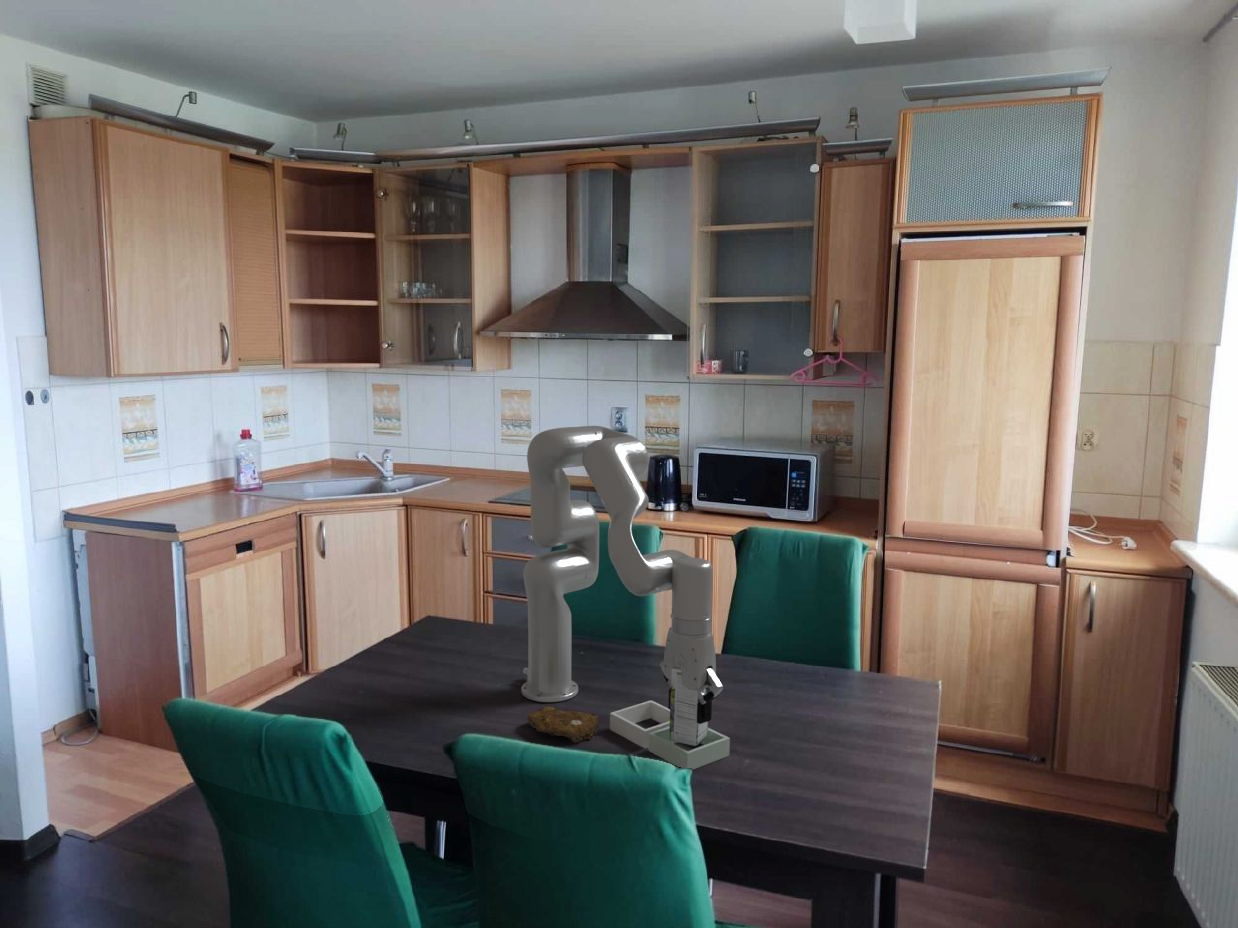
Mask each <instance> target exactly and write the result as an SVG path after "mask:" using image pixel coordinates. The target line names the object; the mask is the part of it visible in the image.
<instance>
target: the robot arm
mask: <svg viewBox="0 0 1238 928" xmlns="http://www.w3.org/2000/svg"><path fill="white" fill-rule="evenodd" d="M649 457H650V456H649V453H648V450H647V448H646V445H644V444H643V442H642V441H641V440H640V439H638V438H637V437H635V436H633V435H630V434H627V433H624V432H621V431H617V430H614V429H611V428H608V427H604V426H601V425H586V426H585V425H582V426H568V427H566V426H565V427H557V428H552V429H551V428H550V429H547V430H544V431H543V430H542V431H541V432H539V433H537V434H536V435H535V436H534V437H533V438H532V439H531V441H530V442H529V445H528V448H527V453H526V460H527V461H526V462H527V468H528V474H529V477H530V478H529V479H530V534H531V538H532V541H533V542H534V543H535V545H536V546H538V547H540V548H546V549H547V548H555V547H562V546H567V547H566V548H564V549H560V550H559V549H558V550H553V551H548V552H544V553H540V554H538V555H537V554H536V555H535V556H533V557H531V558H529V560H528V561H527V563H526V564H525V566H524V568H523V573H522V574H523V575H522V576H523V582H524V589H525V593H526V601H527V625H528V630H527V631H528V632H527V633H528V637H527V638H528V641H527V643H528V644H527V646H528V648H527V649H528V653H527V655H528V656H527V657H528V658H527V659H528V662H527V663H528V666H527V667H524V668H523V670H522V672H523V674H525V675H527V678H526V682H524V683H523V684H522V686H521V687H520V688H521V694H522V696H523V697H525V698H526V699H528V700H531V701H533V702H534V701H535V702H539V703H558V702H563V701H568V700H569V699H572V698H574V697H575V696H576V695H577V694H578V693H579V685H578V683H576V682H575V681H574V680H572V612H571V609H570V607H569V605H568V603H567V602H566V600H565V598H564V595H565V594H569V593H572V592H576V591H580V590H583V589H586V588H587V589H588V588H589V587H592V585H594V583H595V582H596V580H597V579H598V578H597V577H598V575H599V569H600V568H599V564H600V521H599V517H598V514H597V512H596V509H595V508H594V506H593V505H592V504H591V503H590V502H589V501H586V500H584V499H573V500H572V499H571V483H570V480H569V478H568V475H567V473H565V470H563V469H567V468H577V467H584V469H585V472H586V473H587V475H588V477H589V479H590V482H591V483H592V485H593V487H594V489H595V491H596V493H597V494H598V497H599V498H600V500H601V503H602V505H603V507H604V508H605V511H606V512H607V514H608V516H609V519H610V520H609V526H608V530H607V551H608V556H609V559H610V561H611V563H612V566H613V568H614V569H615V572H616V573H617V575H618V577H619V580H620V581H621V582H622V584H623V586H624V587H625V588H626V589H627V590H628V591H629V592H630V593H631V594H633V595H635V596H638V597H645V596H650V595H654V594H658V593H661V592H664V591H671V613H670V618H671V623H670V624H671V626H670V627H669V628H668V631H667V635H666V638H665V639H666V640H665V647H664V655H663V656H664V657H663V660H662V661H661V662H659V667H660V669H661V671H662V673H663V678H664V679H665V682H666V688H667V690H668V707H667V708H668V709H669V710H670V701H671V674H672V668H674V667H677V668H680V669H682V670H681V671H682V672H681V673H682V674H681V685H683V686H685V687H687V688H689V689H692V690H698V697H699V700H700V702H699V703H698V704H697V723H699V724H702V723H705V722H708V723H709V722H710V721H711V720H712V711H713V709H712V707H713V702H714V701H715V700H716V698H718V697H719V695H720V693H721V692H723V690H724V686H723V684H722V682H721V681H720V679H719V678H718V676H717V673H716V672H717V662H716V650H715V649H716V647H715V641H714V635H713V634H712V629H713V628H712V627H713V626H712V625H713V623H712V622H713V619H712V618H713V589H714V588H713V585H714V584H713V581H714V580H713V578H714V569H713V565H712V563H711V562H710V561H709V560H707V559H704V558H700V557H692V556H690V555H687V553H684V552H682V551H680V550H677V549H666V550H661V551H656V552H651V553H647V554H642V552H641V551H640V550H639V548H638V546H637V544H636V542H635V539H634V537H633V531H632V530H633V529H632V528H633V523H634V522H633V521H634V520H635V519H636V518H637V517H638V516H640V515H641V514H643V512H644V511H645V510H646V509H647V507H648V506H649V503H650V502H649V496H648V495H647V493H646V491H645V489H644V487H643V486H642V483H641V481H640V480H639V478H638V476H640V475H642V474H644V473H645V472H646V470H647V468H648V465H649V461H650V459H649ZM704 684H705V685H704ZM703 689H706V693H707V694H706V695H704V692H703Z"/></svg>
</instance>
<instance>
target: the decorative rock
mask: <svg viewBox="0 0 1238 928" xmlns="http://www.w3.org/2000/svg"><path fill="white" fill-rule="evenodd" d="M599 717H600V716H599V715H597V714H596V715H592V714H591V713H589V712H581V711H575V710H574V711H573V710H571V711H570V710H566V709H565V710H564V709H563V710H562V709H561V710H560V709H557V708H556V707H555V708H554V707H552V706H541V707H540V708H539V709H538V710H537V711H536V710H535V711H531V712H529V713H528V715H527V717H526V718H525V719H526V720H527V721H528V722H529V724H530V726H531V727H532V728H533V729H536V731H537V732H538V733H540V732H541V733H545V734H549V736H553V737H554V736H561V737H565V738H568V739H569V740H571V741H572V742H573V743H575V742H576V743H575V744H577V743H578V742H577V741H580V742H582V741H583V740H584V739H586V740H587V739H593V738H594V739H595V736H596V735H597V729H598V727H599V725H600V722H599V720H598V719H599ZM594 739H593V740H594ZM584 741H585V740H584Z"/></svg>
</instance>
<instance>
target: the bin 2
mask: <svg viewBox="0 0 1238 928" xmlns="http://www.w3.org/2000/svg"><path fill="white" fill-rule="evenodd" d="M669 729H670V726H669V727H666V728H663V729H660V730H657V731H654V732H651V733H649V747H648V752H650V753H652V754H653V755H655V756H658V757H659V758H661V759H663V760H665V761H666V762H668V763H670V764H672V765H674V766H676V767H678V768H679V767H681V768H692V769H693V770H696V769H698V768H701V767H703V766H706V765H708V764H712V763H714V762H716V761H719V760H721V759H725V758H727V757H729V756H730V748H731V745H730V744H731V738H730V737H728V736H727V735H725V734H723V733H720V732H718V731H716V730H714V729H712V728H710V727H708V735H707V736H706V737H705V738H704V739H703V740H702V741H701V742H700V743H699V744H701V746H698V747H696V748H693V749H690V750H686V749H684V748H682V747H680V746H678V742H675V741H671V740H669ZM681 768H680V769H681Z"/></svg>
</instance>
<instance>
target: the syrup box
mask: <svg viewBox="0 0 1238 928" xmlns="http://www.w3.org/2000/svg"><path fill="white" fill-rule="evenodd" d="M681 670H682V669H680V668H677V667H674V668H672V674H671V701H670V729H669V740H671V741H675V742H677V743H679V744H685V745H688V746H693V747H697V746H698V745H699V744H701V743H700V742H701V741H702V740H703V739H704V738H705V737H706V736H707V735H708V728H709V721H708V722H705V723H702V724H699V723H697V704H698V703H699V702H700V700H699V697H698V690H692V689H689V688H687V687H685V686H683V685H681V674H682V673H681V672H682V671H681ZM704 685H705V684H704ZM703 692H704V695H706V694H707V693H706V689H703Z"/></svg>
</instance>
